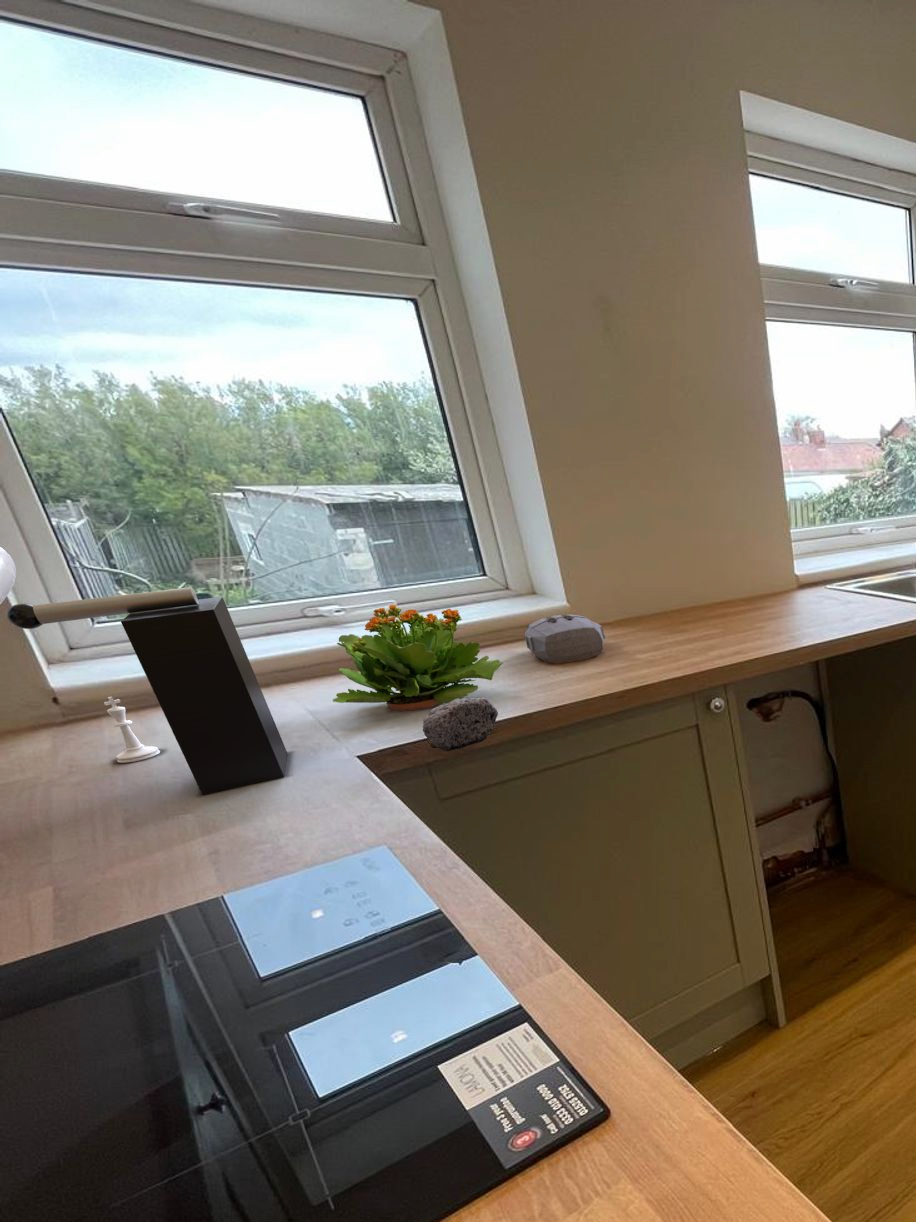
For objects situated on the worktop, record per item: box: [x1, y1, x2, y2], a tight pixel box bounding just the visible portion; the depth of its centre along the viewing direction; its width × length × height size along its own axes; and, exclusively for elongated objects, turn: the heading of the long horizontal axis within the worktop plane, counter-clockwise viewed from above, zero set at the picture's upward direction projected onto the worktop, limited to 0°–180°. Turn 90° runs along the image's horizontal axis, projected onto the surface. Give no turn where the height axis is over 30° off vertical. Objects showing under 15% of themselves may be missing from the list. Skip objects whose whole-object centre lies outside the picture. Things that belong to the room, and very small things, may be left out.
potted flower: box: [332, 604, 504, 712], centre depth 145 cm, size 25×24×18 cm
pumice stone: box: [422, 697, 499, 752], centre depth 128 cm, size 10×8×10 cm
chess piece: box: [103, 696, 161, 764], centre depth 127 cm, size 5×5×10 cm
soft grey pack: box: [524, 613, 606, 664], centre depth 176 cm, size 15×8×20 cm
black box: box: [120, 596, 288, 796], centre depth 115 cm, size 9×12×25 cm
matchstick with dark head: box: [6, 586, 199, 630], centre depth 107 cm, size 18×3×3 cm, turn 128°
